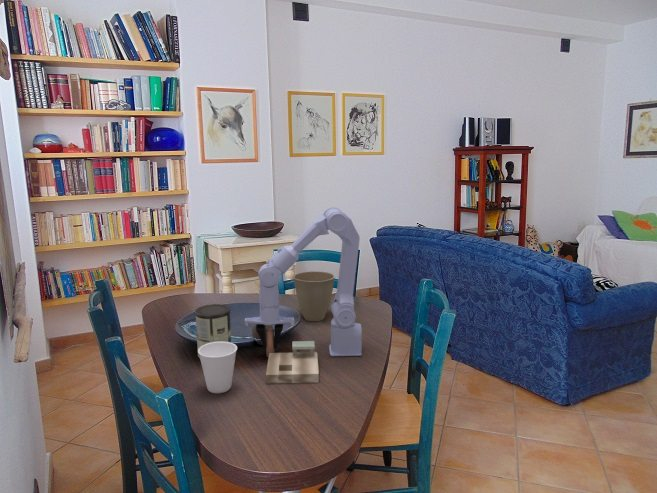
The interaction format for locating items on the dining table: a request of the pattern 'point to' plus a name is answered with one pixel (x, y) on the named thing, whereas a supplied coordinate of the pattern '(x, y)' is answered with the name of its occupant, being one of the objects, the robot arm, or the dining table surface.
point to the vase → (255, 334)
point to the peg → (269, 341)
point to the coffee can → (213, 324)
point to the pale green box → (303, 346)
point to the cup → (218, 365)
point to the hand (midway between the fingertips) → (270, 347)
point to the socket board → (292, 368)
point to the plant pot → (314, 293)
